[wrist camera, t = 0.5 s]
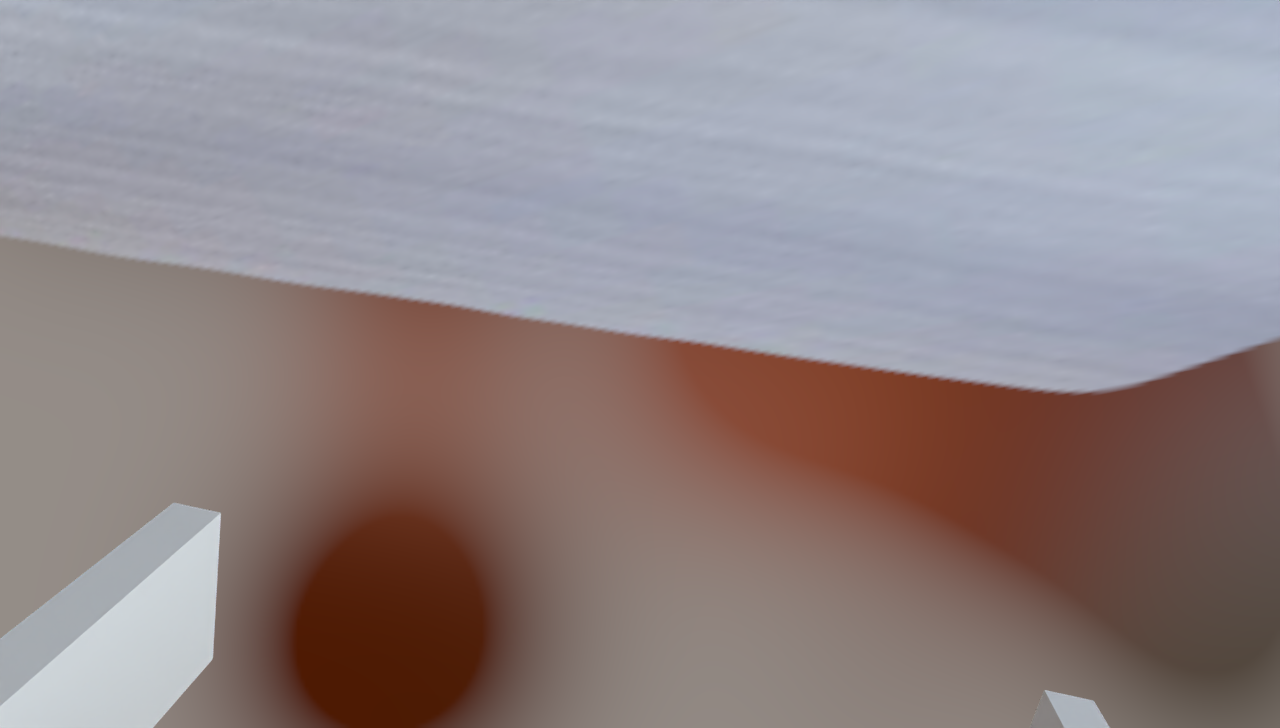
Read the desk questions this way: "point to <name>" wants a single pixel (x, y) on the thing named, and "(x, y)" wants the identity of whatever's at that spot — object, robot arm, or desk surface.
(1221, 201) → the desk surface
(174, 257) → the desk surface
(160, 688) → the robot arm
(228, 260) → the desk surface
